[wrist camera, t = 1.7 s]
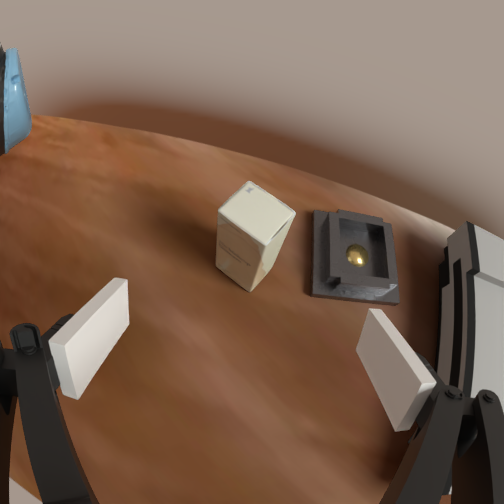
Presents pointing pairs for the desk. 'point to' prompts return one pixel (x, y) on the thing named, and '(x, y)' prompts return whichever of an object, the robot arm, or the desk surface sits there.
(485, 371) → the game console
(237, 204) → the box
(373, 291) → the collar
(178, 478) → the desk surface
